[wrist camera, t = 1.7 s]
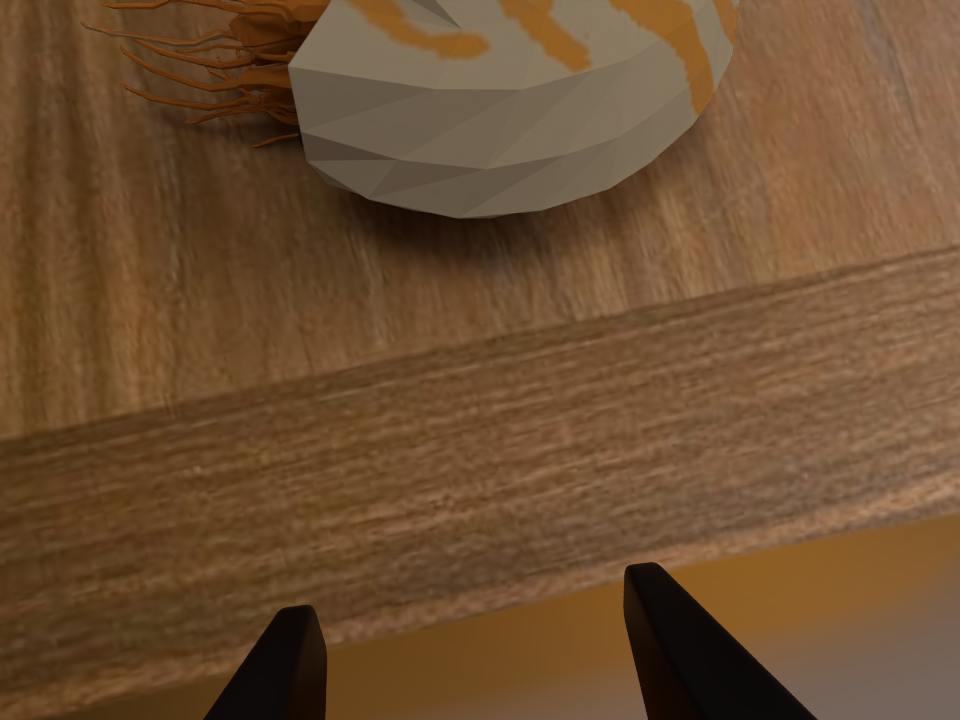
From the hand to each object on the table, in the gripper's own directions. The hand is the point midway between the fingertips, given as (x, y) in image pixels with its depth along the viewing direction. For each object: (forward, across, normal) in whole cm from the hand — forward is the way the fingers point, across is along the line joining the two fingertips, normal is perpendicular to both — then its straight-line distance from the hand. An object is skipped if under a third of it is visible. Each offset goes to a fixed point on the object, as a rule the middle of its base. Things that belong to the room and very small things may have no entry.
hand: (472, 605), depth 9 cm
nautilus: (+22, 0, -3) cm, 22 cm away
